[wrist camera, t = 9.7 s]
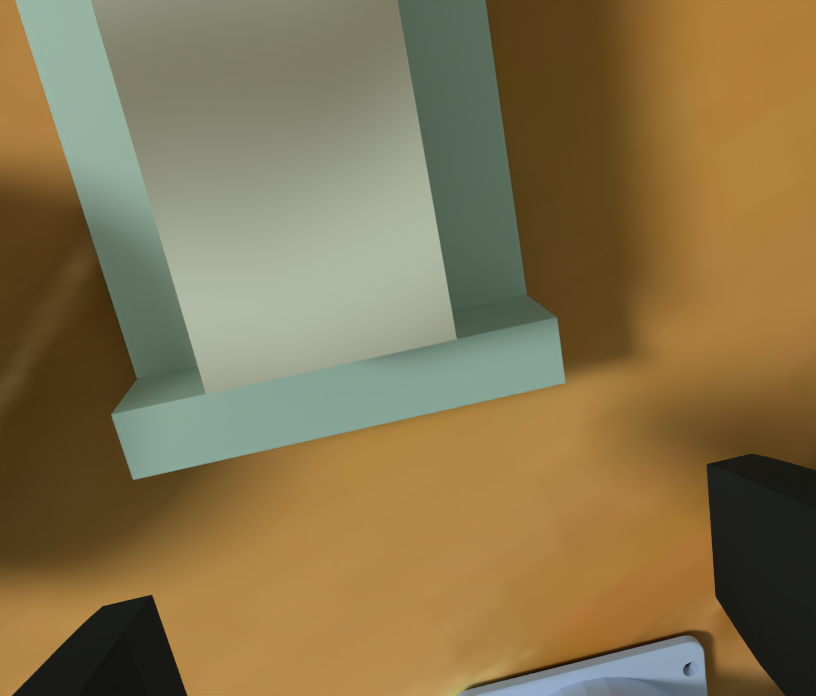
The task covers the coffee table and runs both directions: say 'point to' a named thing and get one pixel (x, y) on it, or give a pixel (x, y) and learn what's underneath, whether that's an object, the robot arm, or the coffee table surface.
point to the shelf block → (282, 179)
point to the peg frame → (334, 386)
